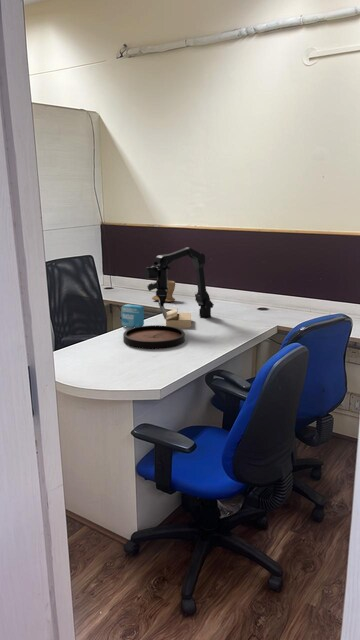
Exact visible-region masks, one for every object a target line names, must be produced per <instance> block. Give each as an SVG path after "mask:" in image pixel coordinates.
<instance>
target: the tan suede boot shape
mask: <svg viewBox="0 0 360 640" xmlns="http://www.w3.org/2000/svg"><path fill="white" fill-rule="evenodd" d="M167 285H168V293H167V297H166V300H165V302H166V303H167V302H174V301H176V298H175V297H173V296H174V295H173V294H174V291H175V289H176V288H175V287H176V281H173V280H168V279H167ZM166 290H167V289H166ZM151 300H153V301H156V302H157V301H158V302H159V297H157V296H156V295H154V296H152V298H151Z"/></svg>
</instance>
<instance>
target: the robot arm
mask: <svg viewBox="0 0 360 640" xmlns="http://www.w3.org/2000/svg"><path fill="white" fill-rule="evenodd" d="M186 256H187V257H188V258H190V259H191V263H192V265H193V267H194V268H195V275H196V276H195V277H196V286H197V292H196V293H195V294H194V297H195V302H196V303H197V304H198V307H200V308H199V309H198V310H199V312H198V313H199V314H198V315H199V317H200V319H201V318H202V319H203V318H205V319H206V318H210V319H211V318H212V313H211V312H212V309H213V307H214V305H215V304H214V303H213V302H212V301H211V298H210V294H209V293H208V291H207V286H206V278H205V268H204V267H205V265H206V255H205V253H203V252H199V251H197V250H195V249H193V248H192V247H188V246H187V247H184V248H181V249H179V250H176V251H174V252H173V251H172V252H171V253H166V254H159V255H156V257H155V260H154V262H153V264H152V265H151V266H150V267H149V266H147V267H145V270H144V273H143V276H144V279H145V280H154V279H155V280H156V281H155V282H151V283H148V284H147V286H146V287H147V289H148V292H151V291H153V290H155V289H156V291H155V296H157V297H159V299H160V304H161V307H163V305H165V300H166V297H167V293H168V285H167V280H168V270H171V267H170V266H169V265H170V264H172V262H174V261H176V260H179V259H181V258H184V257H186ZM166 289H167V290H166Z"/></svg>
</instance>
